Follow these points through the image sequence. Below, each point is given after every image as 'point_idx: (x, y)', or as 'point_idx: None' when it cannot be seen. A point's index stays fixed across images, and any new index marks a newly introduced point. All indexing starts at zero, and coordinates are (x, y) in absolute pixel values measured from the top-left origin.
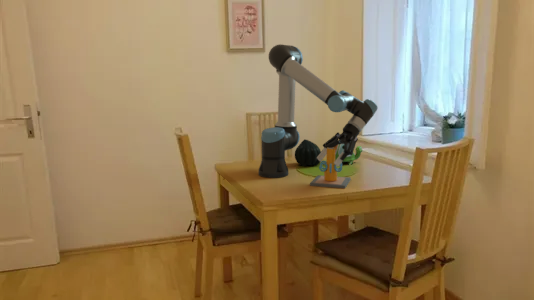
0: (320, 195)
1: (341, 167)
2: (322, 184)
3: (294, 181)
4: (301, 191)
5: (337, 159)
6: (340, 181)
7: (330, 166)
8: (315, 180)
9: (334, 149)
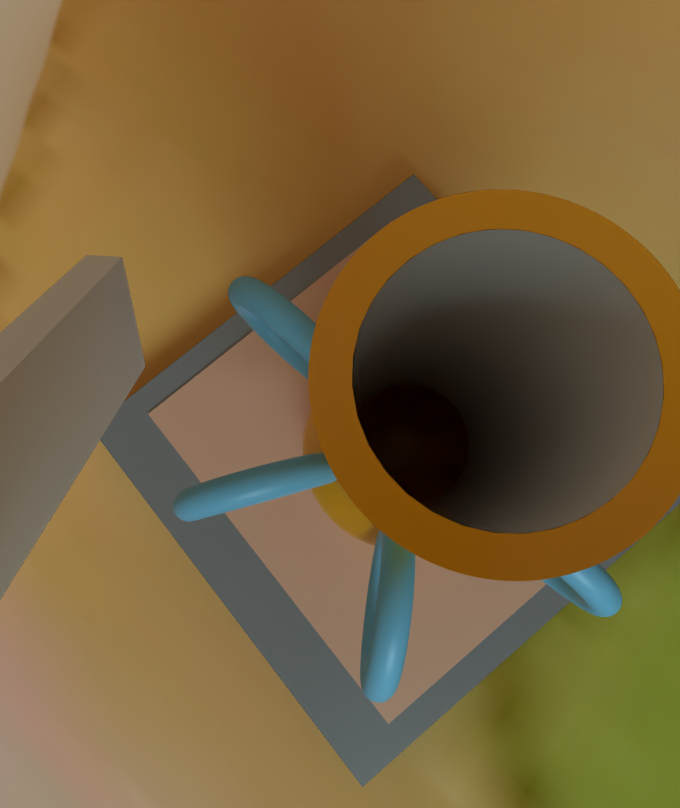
0: (61, 68)
1: (175, 497)
2: (300, 264)
3: (654, 157)
4: (275, 5)
5: (36, 300)
6: (263, 508)
7: (235, 281)
8: None
9: (312, 416)
